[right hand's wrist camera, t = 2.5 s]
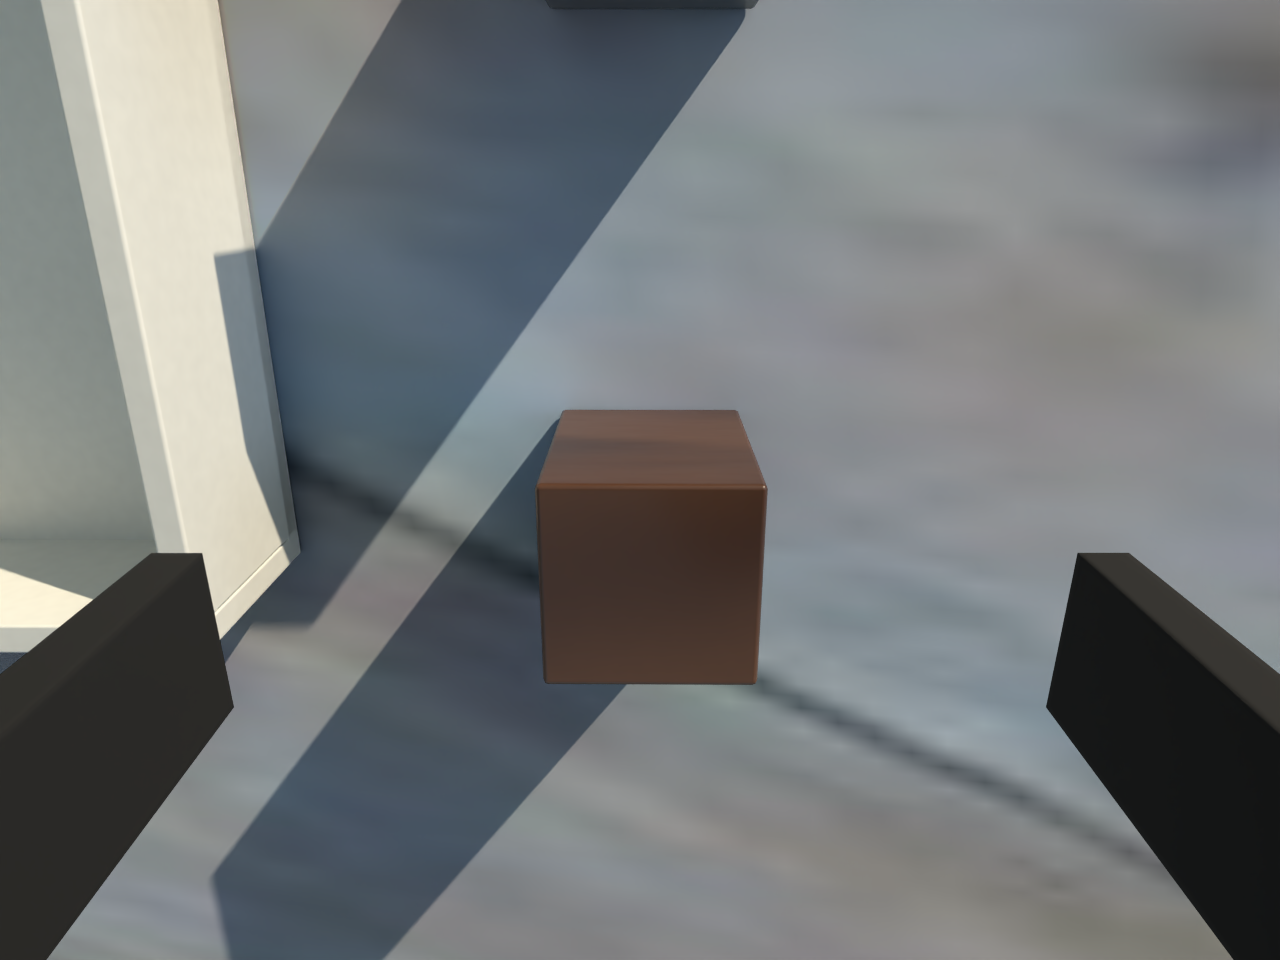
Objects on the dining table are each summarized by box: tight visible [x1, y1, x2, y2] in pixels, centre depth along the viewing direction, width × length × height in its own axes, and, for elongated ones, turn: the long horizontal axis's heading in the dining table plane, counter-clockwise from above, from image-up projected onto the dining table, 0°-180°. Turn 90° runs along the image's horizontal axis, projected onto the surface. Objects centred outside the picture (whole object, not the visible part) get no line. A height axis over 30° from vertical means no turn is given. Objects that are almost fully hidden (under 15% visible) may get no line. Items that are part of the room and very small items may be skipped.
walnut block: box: [535, 410, 768, 685], centre depth 17 cm, size 4×4×5 cm
